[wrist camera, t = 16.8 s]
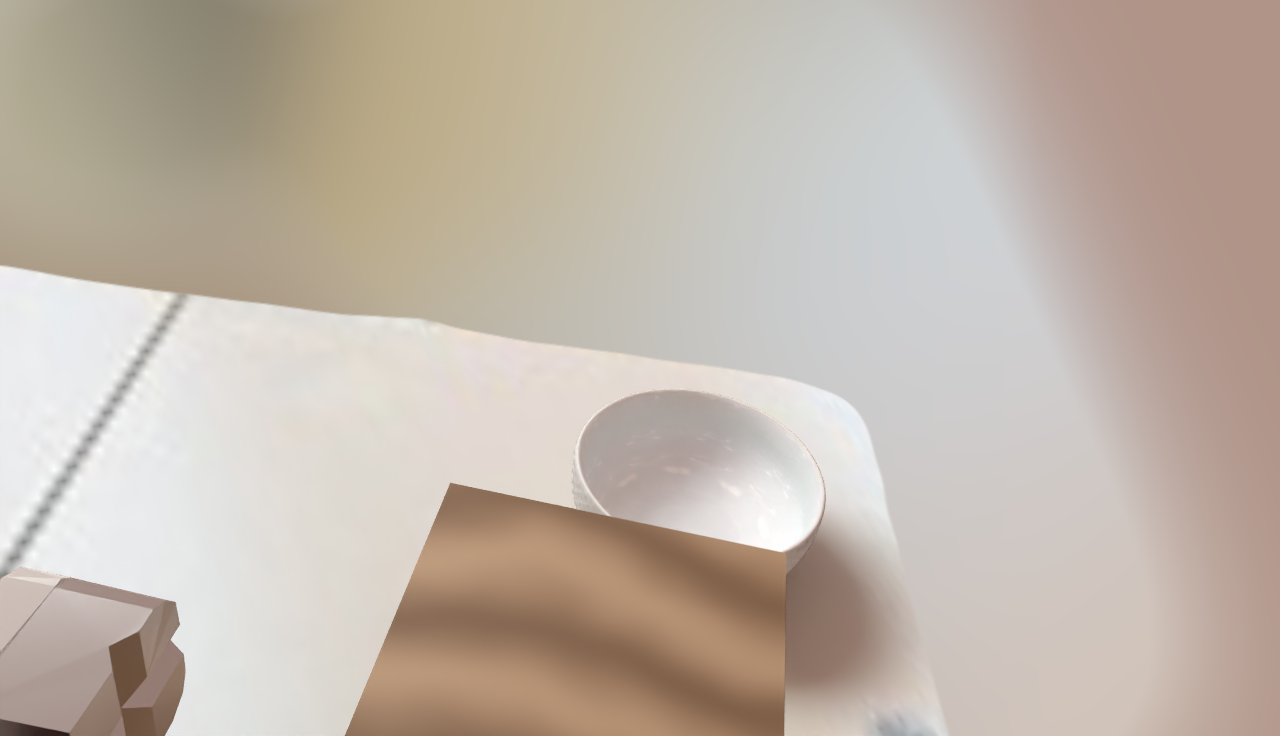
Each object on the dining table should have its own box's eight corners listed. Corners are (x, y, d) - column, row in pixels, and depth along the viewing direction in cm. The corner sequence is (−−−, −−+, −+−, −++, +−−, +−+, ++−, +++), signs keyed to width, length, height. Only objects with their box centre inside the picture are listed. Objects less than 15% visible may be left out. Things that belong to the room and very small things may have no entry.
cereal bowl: (520, 491, 75) (531, 413, 71) (712, 440, 83) (731, 368, 79) (642, 672, 63) (662, 592, 59) (849, 593, 72) (879, 518, 68)
